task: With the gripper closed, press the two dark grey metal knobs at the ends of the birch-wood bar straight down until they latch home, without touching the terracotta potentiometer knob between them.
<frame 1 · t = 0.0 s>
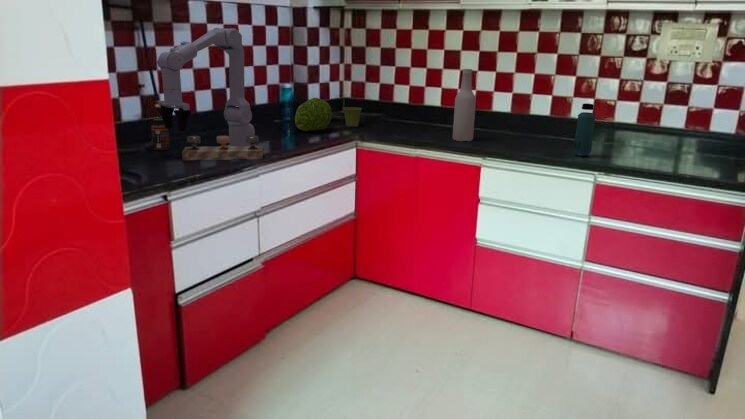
hand: (175, 129, 192), 10 cm above the worktop, fingers open, 7 cm apart
alcohol: (462, 140, 244), on the worktop
plant pot: (352, 126, 275), on the worktop
pot knob: (223, 142, 198), point 5 cm above the worktop, slide at 0.0 cm
knob c: (252, 142, 199), point 5 cm above the worktop, slide at 0.0 cm
knob bar: (224, 157, 199), on the worktop
supplement bottle: (161, 150, 210), on the worktop
beverage bottle: (581, 156, 215), on the worktop
lettuce: (311, 130, 260), on the worktop
knob a: (193, 142, 196), point 5 cm above the worktop, slide at 0.0 cm
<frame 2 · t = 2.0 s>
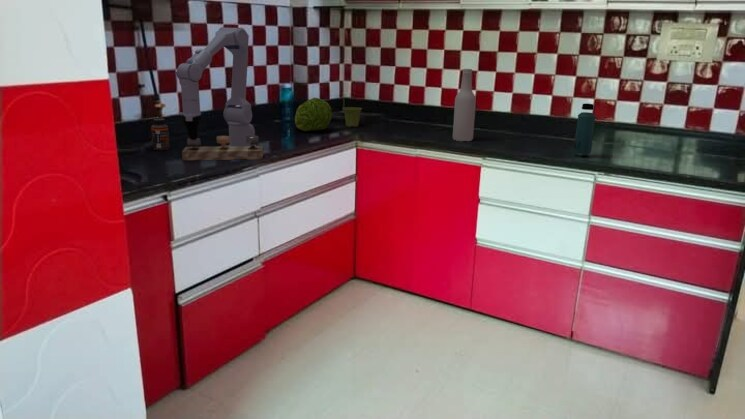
hand: (193, 139, 196), 7 cm above the worktop, fingers closed, pressing on knob a
knob a: (194, 144, 196), point 5 cm above the worktop, slide at 0.7 cm, touching gripper
everything else where it was.
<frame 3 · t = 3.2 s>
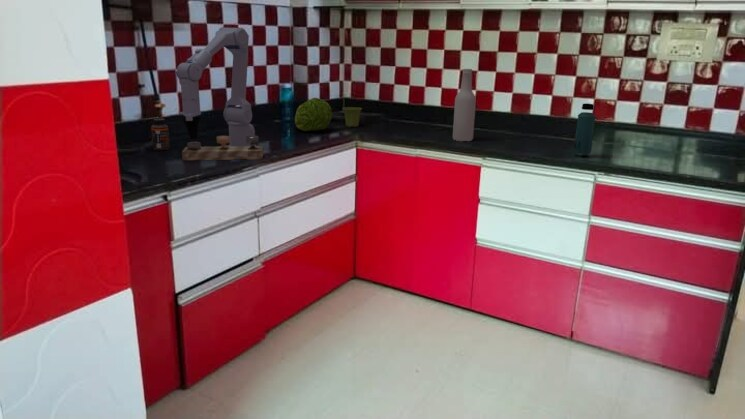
hand: (193, 138, 196), 7 cm above the worktop, fingers closed
knob a: (194, 148, 197), point 3 cm above the worktop, slide at 2.1 cm
everything else where it was.
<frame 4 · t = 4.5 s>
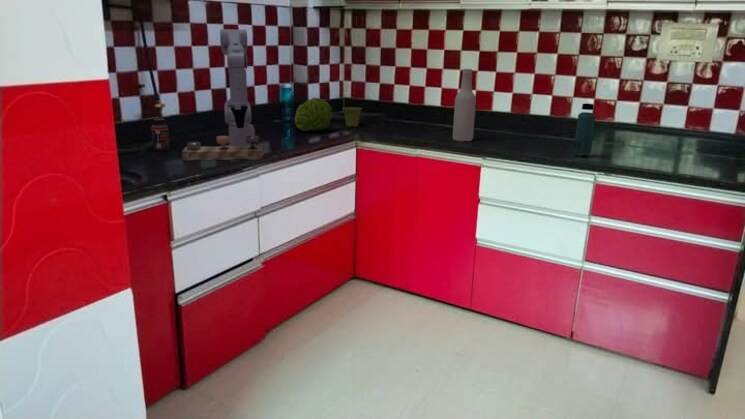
hand: (240, 127, 197), 10 cm above the worktop, fingers closed
nothing on the worktop moved.
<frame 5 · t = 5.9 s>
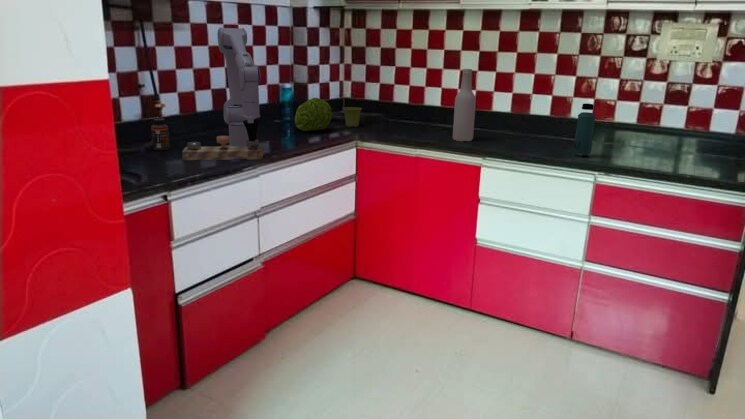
hand: (252, 140, 199), 6 cm above the worktop, fingers closed, pressing on knob c
knob c: (252, 146, 200), point 4 cm above the worktop, slide at 1.5 cm, touching gripper
everything else where it was.
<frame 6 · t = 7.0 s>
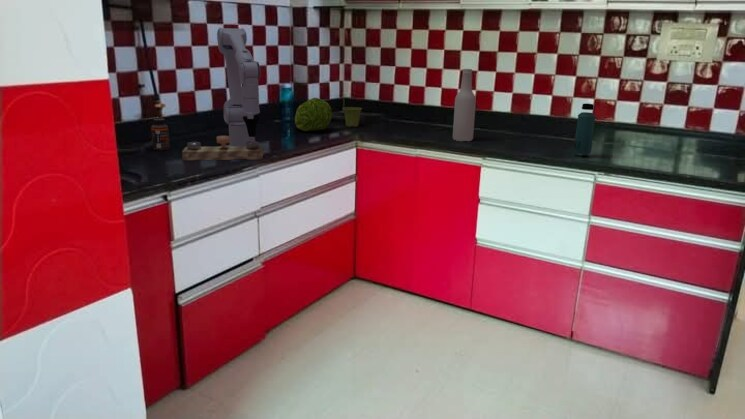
hand: (252, 136, 199), 7 cm above the worktop, fingers closed
knob c: (252, 148, 200), point 3 cm above the worktop, slide at 2.1 cm
everything else where it was.
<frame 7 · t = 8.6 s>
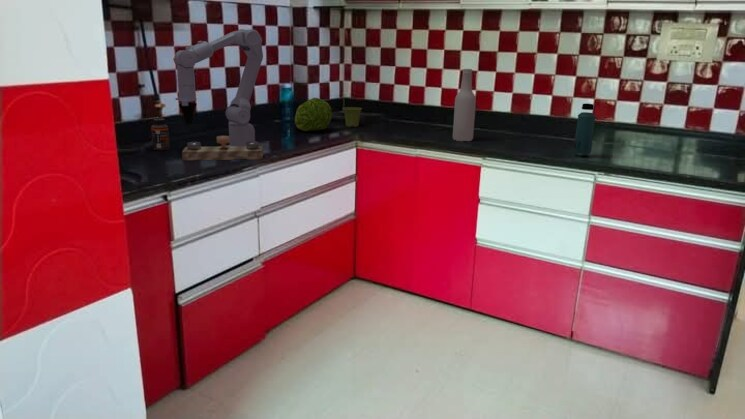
hand: (189, 123, 203), 10 cm above the worktop, fingers closed
nothing on the worktop moved.
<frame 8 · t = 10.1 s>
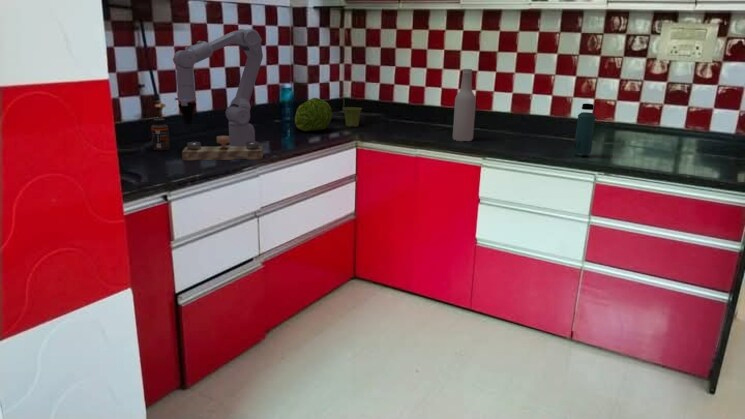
hand: (188, 123, 203), 10 cm above the worktop, fingers closed
nothing on the worktop moved.
at the end: knob a slide at 2.1 cm; knob c slide at 2.1 cm; pot knob slide at 0.0 cm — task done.
